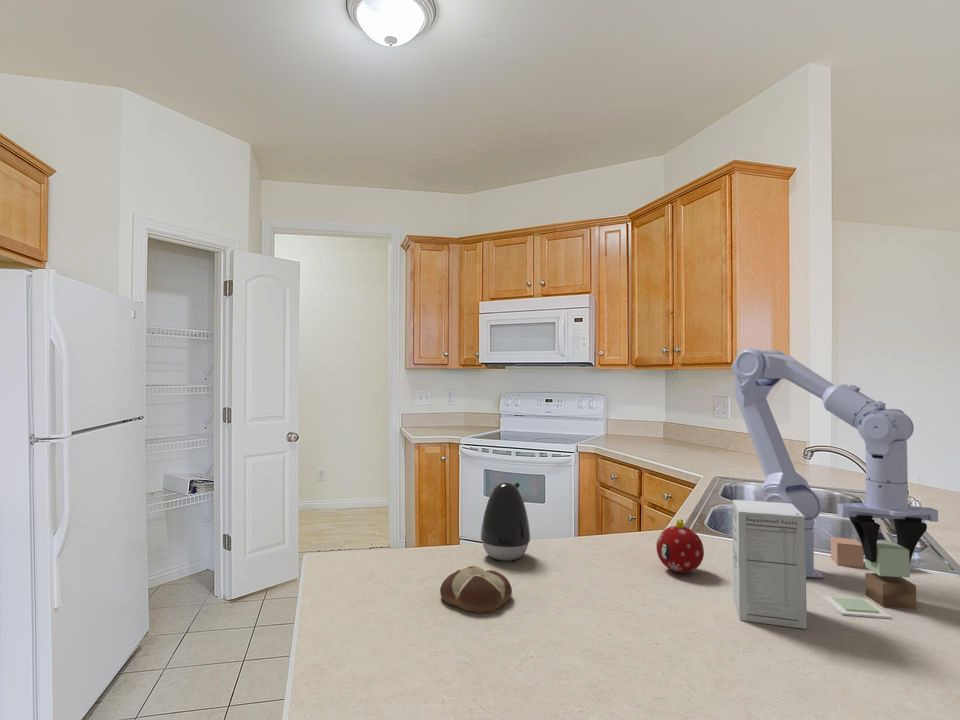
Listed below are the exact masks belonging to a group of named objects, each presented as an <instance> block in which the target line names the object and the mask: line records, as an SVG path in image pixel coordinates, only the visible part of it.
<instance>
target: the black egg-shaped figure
mask: <svg viewBox="0 0 960 720" xmlns="http://www.w3.org/2000/svg"><path fill="white" fill-rule="evenodd" d="M520 485H521V484H520V483H519V482H515V483H514V484H513V483H512V482H511V483H510V482H501V483H499V484H497V485H496V486H495V487H494V489H493V490H492V492H491V494H490V496H489V498H488V501H487V503H486V506H485V509H484V514H483V519H482V524H481V529H480V540H481V542H482V546H483V548H484V551H485V552H486V554H487V555H488V556H489V557H491V558H492V559H495V560H498V561H501V562H502V561H505V562H509V561H514V560H517V559H519V558H520V557H522V556H523V555H524V554H525V553H526V551H527V549H528V547H529V543H530V542H531V530H530V523H529V516H528V513H527V508H526V505H525V501H524V499H523V497H522V494H521V492H520V490H519V488H520Z"/></svg>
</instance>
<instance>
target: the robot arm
mask: <svg viewBox="0 0 960 720" xmlns="http://www.w3.org/2000/svg"><path fill="white" fill-rule="evenodd" d="M731 370H732V372H733V376H734V377H735V380H734V381H735V383H734V384H735V385H734V388H735V389H734V390H735V393H734V395H735V400H736V403H737V405H738V408H739V410H740V413H741V415H742V419H743V421H744V423H745V426H746V429H747V431H748V433H749V437H750V440H751V442H752V445H753V447H754V449H755V453H756V455H757V458H758V461H759V462H760V463H759V464H760V465H761V468H762V471H763V474H764V475H765V480H764V481H763V483H762V485H761V488H760V490H761V494H762V497H763V501H762V502H775V503H790V504H793V505H794V506H795V507H796V508H797V509H798V510H799V511H800V512H801V513H802V514H803V516H804V517H805V556H806V578H819V579H820V578H821V579H823V578H824V575H823V574H822V573H821V572H819V571H818V570H817V569H815V561H814V560H815V559H814V557H815V551H814V549H815V547H814V546H815V545H814V544H815V538H814V534H815V533H814V531H815V529H814V526H815V519H816V518H817V517H819V515H820V514H821V511H822V502H821V500H820V498H819V496H818V495H817V493H815V492H814V491H813V489H811V487H810V485H809V482H808V480H807V479H805V478H804V477H803V475H801V474H799V473H798V472H797V471H796V469H795V467H794V464H793V462H792V459H791V457H790V454H789V452H788V449H787V447H786V445H785V442H784V440H783V437H782V435H781V432H780V429H779V428H778V424H777V421H776V419H775V417H774V415H773V413H772V409H771V407H770V405H769V402H768V400H767V397H768V395H769V394H770V391H771V390H772V389H774V388H775V386H776V385H777V384H778V383H779V382H780V381H781V380H782V379H783V380H787V381H789V382H790V383H792V384H794V385H796V386H797V387H800V388H802V389H803V390H804V391H807V392H808V393H809V394H812V395H814V396H815V397H816V398H819V399H821V400H822V402H823V403H822V404H823V407H824V409H825V410H826V411H828V412H829V413H830V414H832V415H834V416H835V417H837V418H838V419H840V420H842V421H843V422H845V423H846V424H847V425H849V426H851V427H853V429H854V428H855V429H856V430H857V431H858V434H859V436H860V437H861V439H862V440H863V441H864V444H865V446H864V447H865V502H856V503H852V502H851V503H838V502H837V504H836V505H837V509H836V511H837V513H836V514H837V515H838V516H840V517H842V518H848V519H849V521H850V522H851V524H852V525H853V528H854V530H855V531H856V533H857V535H858V538H859V540H860V543H861V544H862V547H863V555H864V560H865V559H867V560H869V561H870V562H875V563H876V559H877V540H878V536H879V531H880V528H881V525H880V524H879V523H877V522H876V520H875V519H891V520H893V523H894V528H895V533H896V542H897V544H899V545H901V546H902V547H904V548H906V549H908V550H909V563H910V564H911V561H912V558H913V554H914V552H915V549H916V547H917V544H918V543H919V542H920V539H921V538H922V536H923V535H924V534H925V533H926V532H927V530H928V525H927V523H925V522H923V521H929V522H933V523H938V522H939V510H938V509H935V508H932V507H925V506H916V505H915V506H913V505H912V506H911V505H909V500H908V499H909V498H908V497H909V495H908V493H909V492H908V491H909V490H908V489H909V486H908V484H909V482H908V481H909V480H908V478H909V477H908V475H909V474H908V440H909V439H910V438H911V437H912V435H913V433H914V428H915V427H914V423H913V420H912V419H911V418H910V416H909V415H908V414H907V413H905V412H904V411H903V410H901V409H898V408H887V407H886V405H887V403H885V402H883V401H881V400H877V401H876V400H874V399H873V398H871V397H869V396H868V395H866V394H864V393H862V392H861V391H860V390H861V388H860V387H859V386H857V385H854V384H849V385H848V384H846V383H843V384H842V383H841V384H838V385H835V384H834V383H832V382H830V381H829V380H828V379H826V378H825V377H823V376H821V375H819V373H816V372H815V371H813V370H811V369H810V368H809V367H807V366H806V365H804V364H803V363H801V362H800V361H798V360H797V359H795V357H794V356H792V355H789V354H786V353H784V352H783V351H780V350H777V349H772V350H770V349H769V350H767V349H766V350H765V349H763V350H762V349H754V348H745V349H743V350H741V351H740V352H739V353H738V354H737V355H736V357H735V360H734V362H733V363H732V365H731ZM873 518H874V519H873Z"/></svg>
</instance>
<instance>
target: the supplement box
mask: <svg viewBox="0 0 960 720" xmlns="http://www.w3.org/2000/svg"><path fill="white" fill-rule="evenodd" d="M731 505H732V506H731V507H732V562H733V563H732V568H733V572H732V573H733V576H732V577H733V602H734V606H735V608H736V613H737V615H738V619H739V621H744V622H752V623H758V624H764V625H765V624H767V625H771V626H772V625H773V626H779V627H780V626H782V627H788V628H796V629H803V630H807V629H808V616H807V615H808V613H807V611H808V610H807V605H808V604H807V577H806V556H805V517H804V516H803V514H802V513H801V512H800V511H799V510H798V509H797V508H796V507H795V506H794V505H793V504H790V503H775V502H763V501H759V500H758V501H757V500H741V499H732V503H731Z"/></svg>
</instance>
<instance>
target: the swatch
mask: <svg viewBox="0 0 960 720" xmlns="http://www.w3.org/2000/svg"><path fill="white" fill-rule="evenodd" d="M820 598H821V599H823V600H824V601H825V602H826V603H827V604H829V605H830V606H831V607H832V608H833V609H834V610H835V611H837V613H839V614H840V615H842V616H851V617H863V618H864V617H865V618H878V619H888V620H889V619H890V620H891V619H892V617H891V615H889V614H888V613H887V612H885V611H884V610H882V609H881V608H880V607H879V606H877V605H876V604H874V603H873V602H872V601H870V600H869V599H867V598H856V597H846V596H845V597H844V596H830V595H821V597H820Z"/></svg>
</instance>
